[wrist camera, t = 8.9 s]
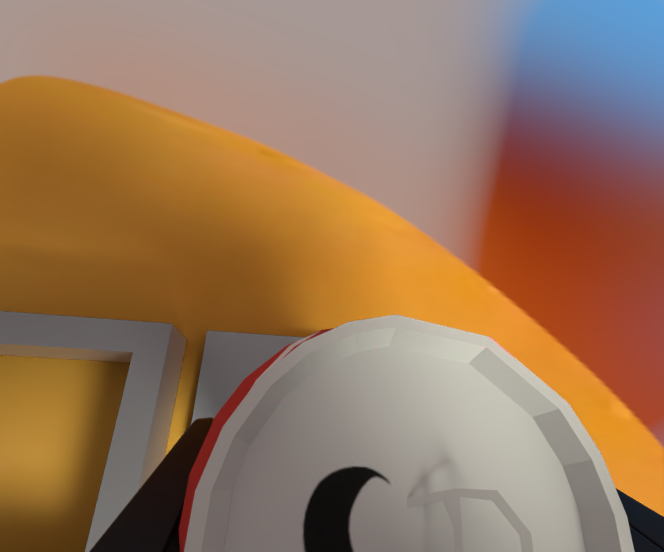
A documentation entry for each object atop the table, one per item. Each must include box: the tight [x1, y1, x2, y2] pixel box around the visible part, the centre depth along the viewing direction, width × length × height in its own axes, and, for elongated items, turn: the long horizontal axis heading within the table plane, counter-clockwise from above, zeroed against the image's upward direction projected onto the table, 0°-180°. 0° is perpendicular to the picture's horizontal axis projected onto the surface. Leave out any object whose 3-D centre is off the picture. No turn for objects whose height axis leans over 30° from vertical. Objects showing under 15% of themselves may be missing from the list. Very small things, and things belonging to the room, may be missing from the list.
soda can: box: [179, 315, 634, 552], centre depth 9 cm, size 6×6×12 cm
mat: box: [191, 330, 305, 424], centre depth 16 cm, size 10×10×1 cm
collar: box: [0, 311, 187, 552], centre depth 14 cm, size 10×10×3 cm
